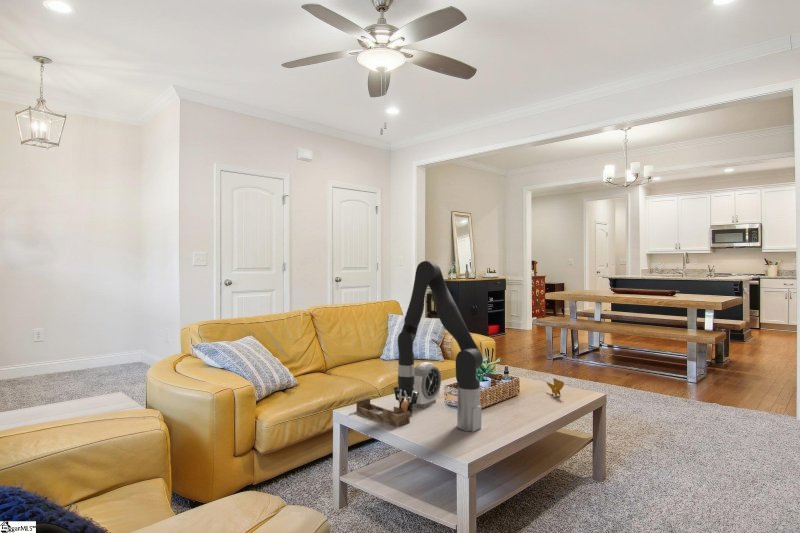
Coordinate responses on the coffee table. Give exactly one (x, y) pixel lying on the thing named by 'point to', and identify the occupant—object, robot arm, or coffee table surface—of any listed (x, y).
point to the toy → (556, 386)
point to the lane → (383, 413)
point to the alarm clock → (426, 384)
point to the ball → (404, 405)
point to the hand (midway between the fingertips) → (405, 411)
